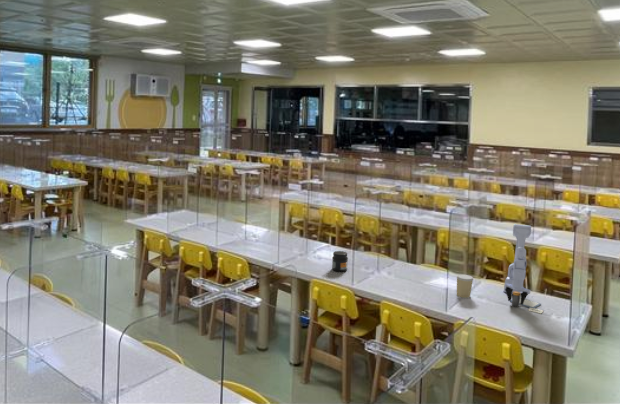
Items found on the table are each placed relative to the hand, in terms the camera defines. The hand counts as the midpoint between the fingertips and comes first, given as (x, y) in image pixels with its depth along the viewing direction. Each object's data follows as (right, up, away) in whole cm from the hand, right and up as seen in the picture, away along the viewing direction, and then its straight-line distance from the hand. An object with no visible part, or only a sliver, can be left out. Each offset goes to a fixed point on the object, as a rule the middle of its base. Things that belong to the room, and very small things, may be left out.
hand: (515, 302), depth 301 cm
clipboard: (+8, -2, +5) cm, 9 cm away
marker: (0, -2, 0) cm, 2 cm away
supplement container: (-98, +11, +54) cm, 113 cm away
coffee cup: (-26, +1, +14) cm, 30 cm away
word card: (+9, -4, -6) cm, 11 cm away
